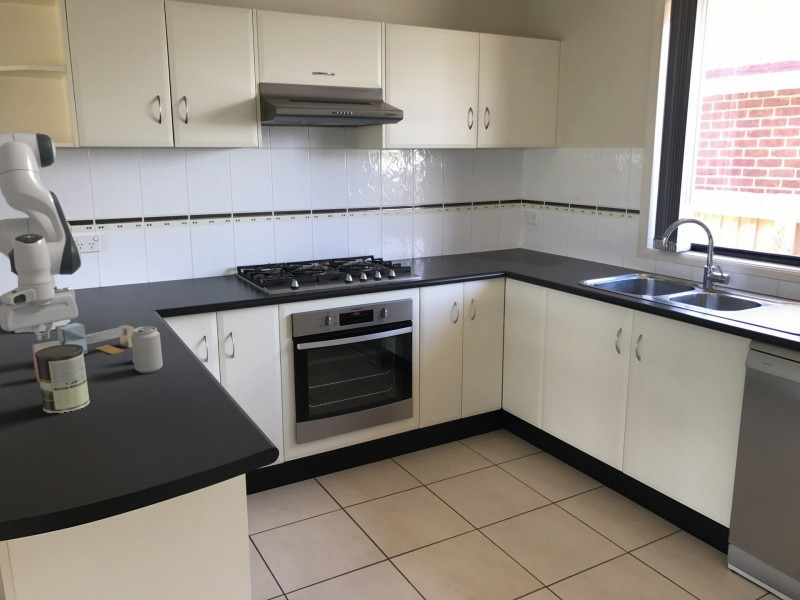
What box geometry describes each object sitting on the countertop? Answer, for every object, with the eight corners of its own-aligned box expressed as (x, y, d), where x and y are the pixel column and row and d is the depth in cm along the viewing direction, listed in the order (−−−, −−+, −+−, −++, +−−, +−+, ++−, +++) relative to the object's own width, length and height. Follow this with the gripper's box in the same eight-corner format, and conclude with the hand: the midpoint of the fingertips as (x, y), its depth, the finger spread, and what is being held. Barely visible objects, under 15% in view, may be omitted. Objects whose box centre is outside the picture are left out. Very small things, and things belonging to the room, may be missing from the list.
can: (134, 367, 189) (129, 327, 186) (162, 364, 191) (158, 324, 189) (135, 375, 182) (130, 333, 179) (164, 371, 185) (160, 330, 182)
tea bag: (36, 378, 181) (31, 343, 179) (63, 373, 185) (58, 339, 183) (37, 382, 178) (32, 346, 176) (65, 377, 182) (60, 342, 180)
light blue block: (59, 354, 197) (55, 326, 195) (79, 349, 202) (75, 322, 200) (67, 357, 194) (63, 329, 192) (87, 352, 198) (84, 325, 196)
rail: (44, 361, 196) (41, 341, 195) (123, 342, 215) (121, 323, 214) (59, 367, 190) (57, 346, 189) (140, 347, 209) (138, 328, 207)
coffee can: (34, 414, 156) (25, 356, 153) (57, 398, 166) (49, 344, 163) (77, 413, 156) (69, 356, 152) (97, 397, 166) (91, 343, 162)
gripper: (68, 285, 197) (74, 329, 200) (-7, 297, 182) (1, 345, 185) (78, 287, 193) (84, 333, 196) (2, 300, 178) (10, 349, 181)
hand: (43, 339), depth 191 cm, fingers closed
